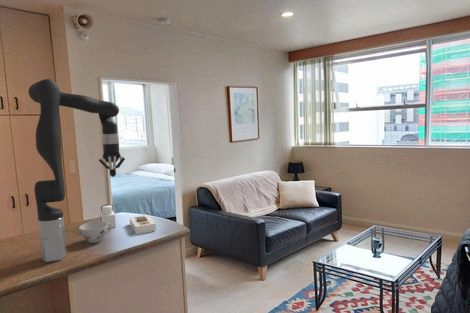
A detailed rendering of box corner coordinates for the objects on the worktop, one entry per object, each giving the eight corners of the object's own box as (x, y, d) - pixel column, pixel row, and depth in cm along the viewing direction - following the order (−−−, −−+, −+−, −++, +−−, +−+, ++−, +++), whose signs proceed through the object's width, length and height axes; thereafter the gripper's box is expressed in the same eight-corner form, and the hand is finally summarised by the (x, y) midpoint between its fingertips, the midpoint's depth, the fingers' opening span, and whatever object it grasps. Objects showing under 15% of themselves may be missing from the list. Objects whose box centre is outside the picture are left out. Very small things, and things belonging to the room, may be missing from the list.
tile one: (149, 228, 171) (149, 223, 171) (141, 230, 169) (140, 225, 169) (148, 226, 175) (147, 221, 175) (139, 227, 173) (139, 222, 173)
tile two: (147, 223, 177) (146, 218, 176) (138, 224, 175) (138, 219, 174) (145, 221, 181) (145, 216, 180) (137, 222, 179) (136, 217, 178)
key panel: (155, 231, 172) (155, 223, 171) (136, 234, 167) (135, 226, 167) (148, 221, 189) (147, 214, 188) (129, 224, 184) (129, 217, 184)
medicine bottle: (101, 225, 183) (99, 204, 182) (114, 223, 186) (113, 202, 185) (101, 229, 177) (100, 207, 175) (115, 227, 180) (114, 205, 178)
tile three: (145, 222, 182) (144, 217, 182) (136, 223, 180) (136, 219, 180) (143, 220, 186) (143, 215, 186) (135, 221, 184) (135, 217, 184)
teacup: (86, 248, 151) (84, 231, 150) (76, 241, 160) (75, 225, 159) (118, 239, 161) (117, 223, 160) (107, 233, 170) (106, 218, 169)
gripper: (97, 144, 162) (99, 179, 164) (125, 142, 168) (127, 176, 169) (96, 143, 168) (98, 176, 170) (123, 141, 174) (125, 174, 176)
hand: (113, 176), depth 170 cm, fingers closed
